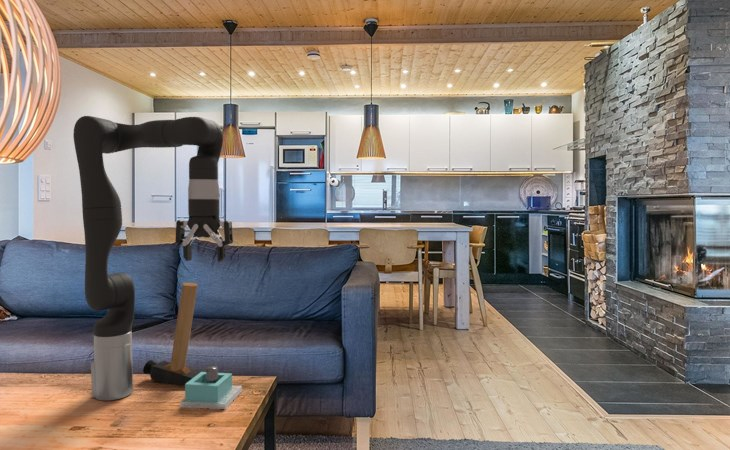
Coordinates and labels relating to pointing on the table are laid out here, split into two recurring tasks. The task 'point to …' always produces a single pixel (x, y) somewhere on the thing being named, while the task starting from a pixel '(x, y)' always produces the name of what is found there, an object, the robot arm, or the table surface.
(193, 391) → the collar
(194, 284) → the hammer
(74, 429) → the table surface
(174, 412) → the table surface
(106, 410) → the table surface
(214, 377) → the stand
